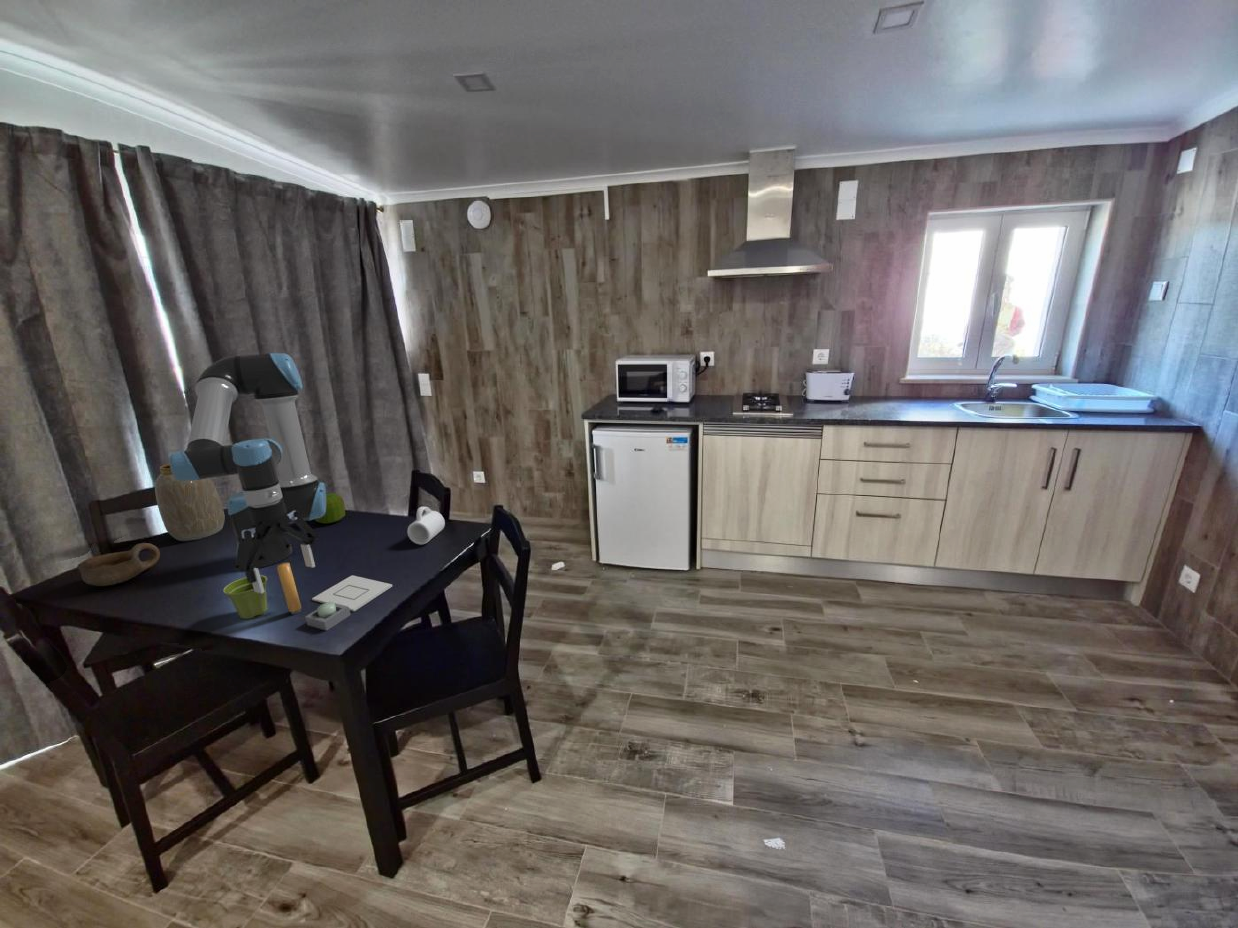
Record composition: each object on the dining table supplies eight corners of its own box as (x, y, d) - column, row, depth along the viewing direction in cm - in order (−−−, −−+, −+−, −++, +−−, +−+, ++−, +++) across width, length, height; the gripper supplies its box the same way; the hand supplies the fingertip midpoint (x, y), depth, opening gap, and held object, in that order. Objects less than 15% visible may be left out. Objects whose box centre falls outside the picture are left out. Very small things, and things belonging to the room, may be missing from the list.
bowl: (140, 556, 165) (136, 531, 162) (171, 571, 162) (168, 546, 159) (70, 584, 149) (64, 556, 145) (104, 601, 146) (99, 573, 143)
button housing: (307, 624, 127) (305, 616, 126) (331, 609, 133) (329, 601, 132) (326, 630, 124) (324, 622, 124) (350, 614, 130) (348, 606, 130)
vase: (201, 523, 194) (179, 457, 186) (240, 524, 192) (220, 457, 184) (156, 543, 178) (131, 472, 170) (198, 544, 176) (174, 472, 167)
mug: (446, 531, 177) (441, 500, 174) (431, 545, 168) (426, 512, 164) (425, 531, 179) (419, 500, 175) (409, 544, 169) (403, 511, 165)
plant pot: (246, 603, 138) (238, 576, 135) (282, 601, 138) (274, 573, 136) (224, 624, 129) (214, 595, 126) (262, 621, 129) (253, 592, 127)
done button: (315, 618, 127) (313, 609, 126) (329, 609, 131) (327, 600, 130) (326, 621, 126) (324, 612, 125) (340, 612, 129) (338, 603, 128)
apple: (307, 526, 187) (301, 499, 184) (328, 514, 197) (322, 489, 194) (334, 527, 185) (327, 500, 182) (353, 515, 195) (347, 489, 192)
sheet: (312, 600, 138) (312, 598, 138) (352, 576, 149) (351, 575, 149) (354, 611, 132) (353, 609, 132) (392, 586, 143) (392, 584, 143)
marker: (287, 613, 132) (274, 567, 128) (297, 608, 135) (284, 562, 130) (294, 615, 131) (281, 568, 127) (304, 610, 134) (292, 563, 129)
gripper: (220, 523, 111) (245, 606, 117) (321, 487, 133) (338, 558, 139) (199, 520, 114) (225, 601, 120) (302, 484, 136) (320, 554, 142)
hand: (286, 578), depth 129 cm, fingers open, 13 cm apart
